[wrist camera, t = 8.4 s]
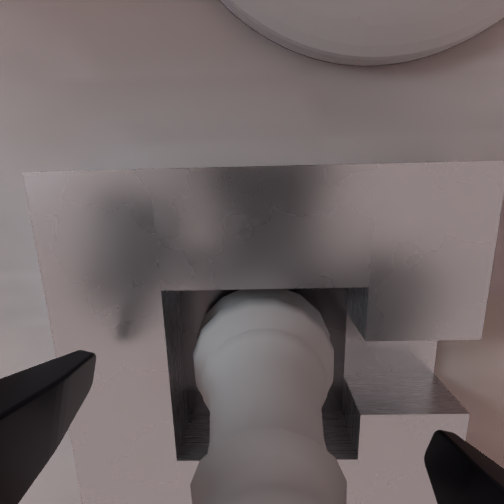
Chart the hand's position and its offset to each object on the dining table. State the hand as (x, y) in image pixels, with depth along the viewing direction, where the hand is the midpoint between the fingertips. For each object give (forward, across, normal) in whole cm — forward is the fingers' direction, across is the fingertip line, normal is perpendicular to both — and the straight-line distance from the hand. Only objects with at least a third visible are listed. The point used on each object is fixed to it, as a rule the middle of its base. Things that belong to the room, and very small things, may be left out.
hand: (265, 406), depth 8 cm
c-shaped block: (+4, 0, 0) cm, 4 cm away
